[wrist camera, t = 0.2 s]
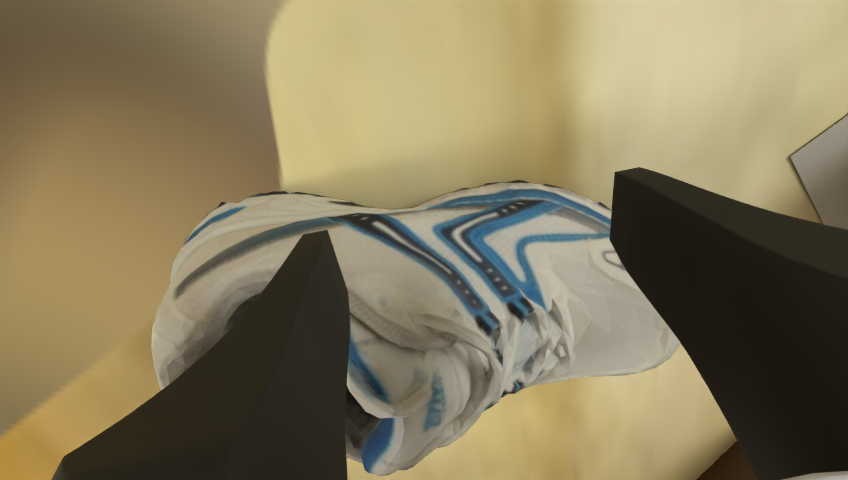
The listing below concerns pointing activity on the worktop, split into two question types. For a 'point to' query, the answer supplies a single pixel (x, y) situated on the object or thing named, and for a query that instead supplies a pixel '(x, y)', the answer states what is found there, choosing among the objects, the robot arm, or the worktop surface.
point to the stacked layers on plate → (827, 173)
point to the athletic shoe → (428, 303)
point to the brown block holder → (730, 467)
